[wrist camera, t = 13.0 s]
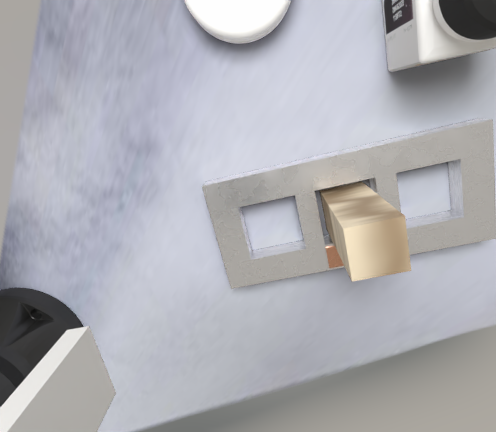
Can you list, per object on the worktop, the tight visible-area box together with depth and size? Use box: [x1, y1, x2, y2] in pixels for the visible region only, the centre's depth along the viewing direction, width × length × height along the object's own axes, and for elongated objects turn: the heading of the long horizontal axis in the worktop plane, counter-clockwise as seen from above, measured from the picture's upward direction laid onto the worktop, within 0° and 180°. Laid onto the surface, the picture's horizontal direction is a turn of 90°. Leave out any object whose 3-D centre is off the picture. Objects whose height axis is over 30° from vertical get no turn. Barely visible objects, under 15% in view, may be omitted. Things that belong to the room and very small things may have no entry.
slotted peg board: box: [202, 119, 496, 289], centre depth 36 cm, size 28×12×3 cm, turn 104°
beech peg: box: [320, 182, 411, 281], centre depth 32 cm, size 4×4×12 cm
